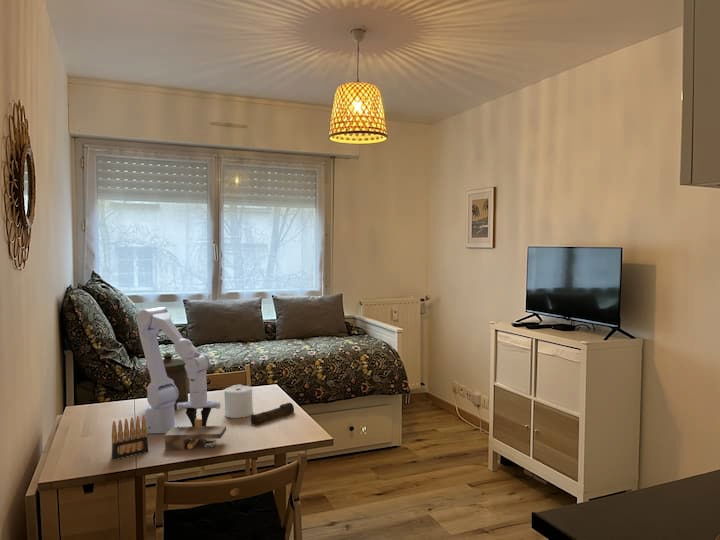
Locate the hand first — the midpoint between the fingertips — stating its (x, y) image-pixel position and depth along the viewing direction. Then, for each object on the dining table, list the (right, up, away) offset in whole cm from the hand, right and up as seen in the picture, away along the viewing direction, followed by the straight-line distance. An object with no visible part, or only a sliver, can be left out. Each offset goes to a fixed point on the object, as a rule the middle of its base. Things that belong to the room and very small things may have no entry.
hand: (199, 429), depth 191 cm
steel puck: (+6, -3, -8) cm, 11 cm away
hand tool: (+23, -2, +18) cm, 29 cm away
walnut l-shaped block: (+1, -3, -8) cm, 9 cm away
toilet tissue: (+8, -1, +25) cm, 26 cm away
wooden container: (-23, -1, +37) cm, 44 cm away
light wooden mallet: (0, -3, -5) cm, 6 cm away
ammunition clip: (-17, -4, -16) cm, 24 cm away
